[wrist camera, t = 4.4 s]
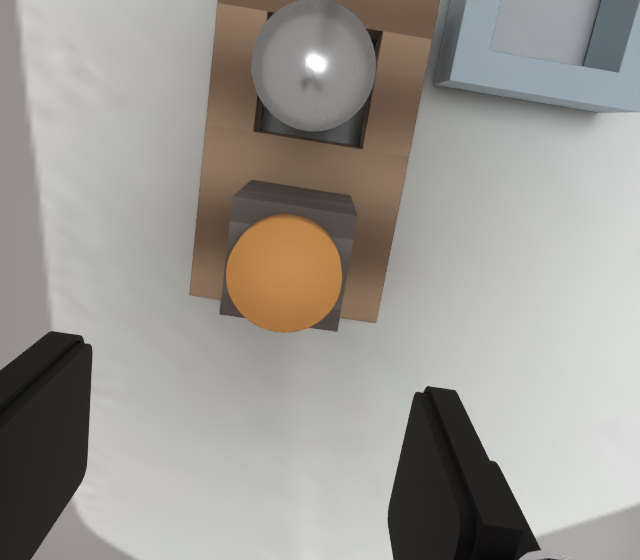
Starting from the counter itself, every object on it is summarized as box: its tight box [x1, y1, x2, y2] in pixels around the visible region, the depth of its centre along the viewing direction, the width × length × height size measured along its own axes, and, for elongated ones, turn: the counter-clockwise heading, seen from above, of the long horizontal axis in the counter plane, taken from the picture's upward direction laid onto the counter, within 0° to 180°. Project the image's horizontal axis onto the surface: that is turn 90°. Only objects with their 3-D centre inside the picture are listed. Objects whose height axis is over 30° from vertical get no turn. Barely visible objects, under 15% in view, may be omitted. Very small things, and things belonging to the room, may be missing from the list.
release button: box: [226, 214, 342, 332], centre depth 25 cm, size 4×4×8 cm
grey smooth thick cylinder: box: [251, 0, 376, 131], centre depth 24 cm, size 4×4×12 cm
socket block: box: [189, 0, 440, 332], centre depth 26 cm, size 16×10×9 cm, turn 171°
